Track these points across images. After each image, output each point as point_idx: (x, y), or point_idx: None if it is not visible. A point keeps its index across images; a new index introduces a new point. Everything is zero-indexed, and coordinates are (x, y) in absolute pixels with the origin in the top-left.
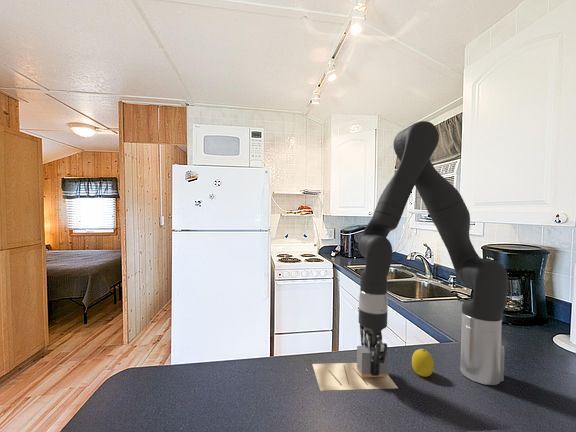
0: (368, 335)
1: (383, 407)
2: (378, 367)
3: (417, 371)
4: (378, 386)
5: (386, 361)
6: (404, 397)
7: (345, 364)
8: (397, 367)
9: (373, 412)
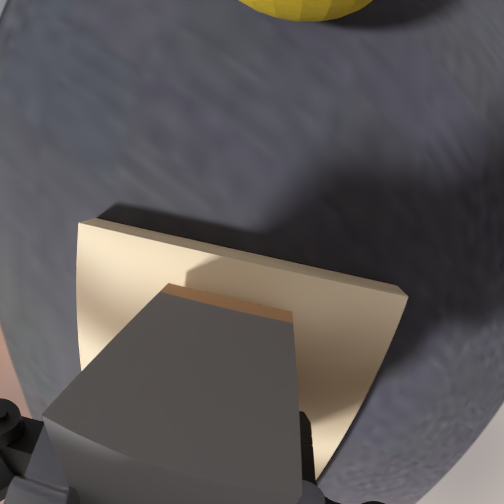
0: None
1: (431, 409)
2: (310, 459)
3: (332, 18)
4: (342, 400)
5: (294, 405)
6: (439, 274)
7: None
8: (137, 84)
9: (424, 447)
